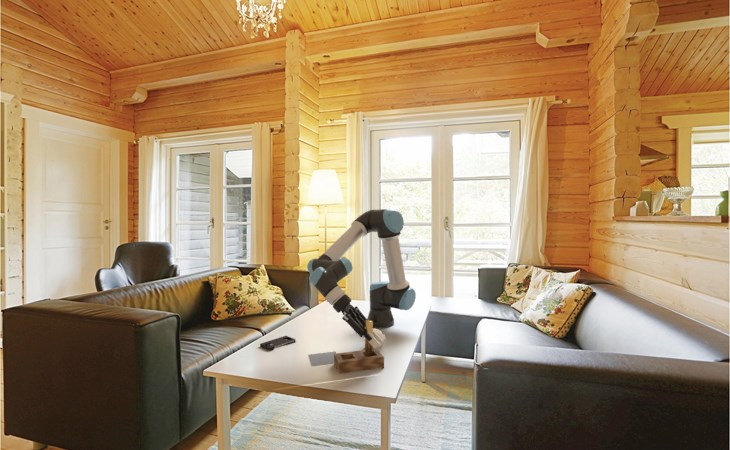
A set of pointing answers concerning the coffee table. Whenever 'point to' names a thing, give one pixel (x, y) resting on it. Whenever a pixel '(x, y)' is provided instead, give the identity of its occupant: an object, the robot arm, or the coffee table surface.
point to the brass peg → (370, 328)
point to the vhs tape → (277, 343)
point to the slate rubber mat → (322, 358)
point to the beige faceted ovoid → (379, 336)
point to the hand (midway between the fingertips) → (378, 344)
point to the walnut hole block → (358, 361)
